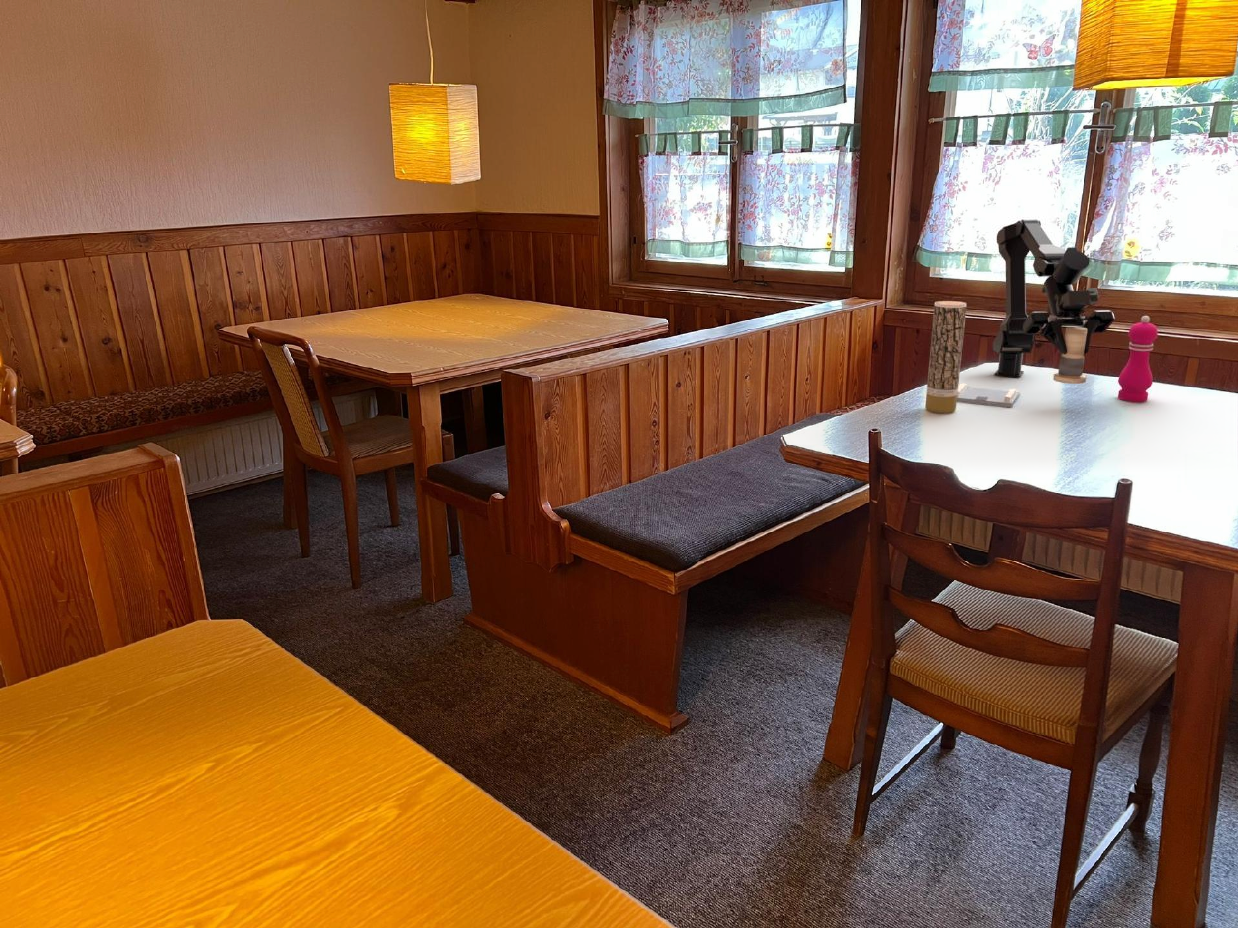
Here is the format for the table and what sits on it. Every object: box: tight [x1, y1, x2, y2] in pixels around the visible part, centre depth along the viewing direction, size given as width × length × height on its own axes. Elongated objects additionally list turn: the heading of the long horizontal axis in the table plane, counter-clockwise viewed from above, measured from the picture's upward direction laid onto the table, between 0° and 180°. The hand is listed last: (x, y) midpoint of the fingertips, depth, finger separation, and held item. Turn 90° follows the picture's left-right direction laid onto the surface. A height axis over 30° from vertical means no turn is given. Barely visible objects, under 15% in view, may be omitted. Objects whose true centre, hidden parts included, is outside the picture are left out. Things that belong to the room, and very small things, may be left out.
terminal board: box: [957, 383, 1021, 408], centre depth 221 cm, size 12×14×2 cm
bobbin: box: [1052, 326, 1087, 385], centre depth 208 cm, size 7×7×12 cm
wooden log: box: [925, 300, 967, 414], centre depth 208 cm, size 7×7×25 cm
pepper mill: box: [1117, 315, 1159, 403], centre depth 215 cm, size 7×7×20 cm
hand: (1076, 353), depth 206 cm, fingers closed on bobbin, 4 cm apart
